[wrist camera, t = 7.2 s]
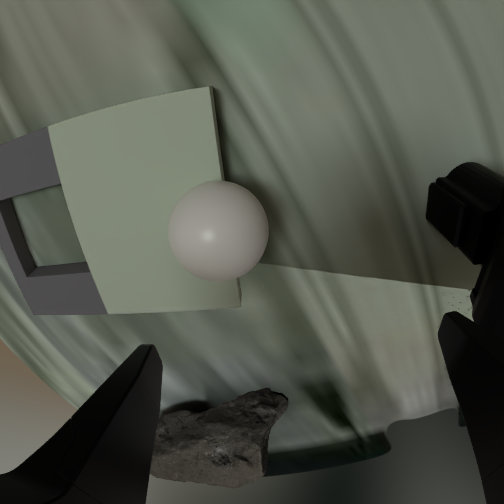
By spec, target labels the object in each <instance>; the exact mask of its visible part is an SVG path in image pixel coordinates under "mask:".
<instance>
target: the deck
mask: <svg viewBox="0 0 504 504" xmlns="http://www.w3.org/2000/svg"><path fill="white" fill-rule="evenodd" d="M209 181H225V178H224V171H223V164H222V157H221V149H220V142H219V134H218V127H217V119H216V111H215V104H214V96H213V88H212V86H210V87H203V88H196V89H190V90H184V91H179V92H173V93H168V94H163V95H158V96H153V97H149V98H144V99H140V100H136V101H131V102H127V103H123V104H119V105H115V106H112V107H108V108H104V109H101V110H97V111H94V112H90V113H87V114H84V115H81V116H77V117H74V118H71V119H68V120H65V121H62V122H59V123H56V124H53V125H50V126H48V127H45V128H42V129H40V130H37V131H34V132H32V133H29V134H27V135H24V136H22V137H19V138H17V139H14V140H12V141H9V142H7V143H5V144H3V145H0V245H1V248H2V250H3V252H4V255H5V257H6V259H7V262H8V264H9V266H10V268H11V271H12V273H13V275H14V277H15V279H16V281H17V283H18V285H19V288H20V290H21V292H22V294H23V296H24V298H25V299H26V301H27V303H28V305H29V307H30V309H31V311H32V313H33V315H85V314H127V313H153V312H174V311H192V310H208V309H222V308H236V307H241V288H240V282H239V277H238V278H236V279H233V280H229V281H222V282H215V281H207V280H204V279H200V278H198V277H196V276H194V275H192V274H191V273H189V272H188V271H187V270H185V269H184V268H183V267H182V266H181V265H180V264H179V262H178V261H177V260H176V258H175V256H174V255H173V252H172V250H171V247H170V244H169V240H168V223H169V218H170V215H171V213H172V210H173V208H174V206H175V205H176V203H177V202H178V200H179V199H180V198H181V197H182V196H183V195H184V194H185V193H186V192H187V191H188V190H190V189H191V188H193V187H195V186H197V185H199V184H202V183H205V182H209ZM58 184H61V185H62V188H63V192H64V195H65V199H66V202H67V205H68V209H69V212H70V215H71V218H72V221H73V224H74V227H75V230H76V233H77V236H78V239H79V242H80V245H81V247H82V250H83V253H84V256H85V258H86V261H87V262H82V263H72V264H62V265H52V266H43V267H35V264H34V262H33V260H32V257H31V255H30V252H29V250H28V247H27V245H26V242H25V240H24V237H23V235H22V232H21V229H20V227H19V224H18V221H17V218H16V215H15V212H14V209H13V206H12V203H11V200H10V197H13V196H17V195H20V194H24V193H27V192H31V191H35V190H38V189H42V188H46V187H50V186H54V185H58Z"/></svg>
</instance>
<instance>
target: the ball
mask: <svg viewBox="0 0 504 504" xmlns="http://www.w3.org/2000/svg"><path fill="white" fill-rule="evenodd" d="M268 236H269V225H268V220H267V216H266V213H265V211H264V209H263V207H262V205H261V203H260V202H259V201H258V199H257V198H256V197H255V196H254V195H253V194H252V193H251V192H250V191H249V190H247V189H246V188H244V187H242V186H240V185H238V184H235V183H232V182H228V181H209V182H205V183H202V184H199V185H197V186H195V187H193V188H191V189H190V190H188V191H187V192H186V193H185V194H184V195H183V196H182V197H181V198H180V199H179V200H178V202H177V203H176V205H175V206H174V208H173V210H172V213H171V215H170V218H169V223H168V240H169V244H170V247H171V250H172V252H173V255H174V256H175V258H176V260H177V261H178V262H179V264H180V265H181V266H182V267H183V268H184V269H185V270H187V271H188V272H189V273H191V274H192V275H194V276H196V277H198V278H200V279H204V280H207V281H215V282H222V281H229V280H233V279H236V278H238V277H240V276H242V275H244V274H245V273H247V272H248V271H250V270H251V269H252V268H253V267H254V266H255V265H256V264H257V263H258V261H259V260H260V259H261V257H262V255H263V253H264V251H265V249H266V246H267V242H268Z"/></svg>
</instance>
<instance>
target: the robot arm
mask: <svg viewBox="0 0 504 504" xmlns="http://www.w3.org/2000/svg"><path fill="white" fill-rule="evenodd" d="M426 219H427V220H428V221H429V222H430V223H431V224H432V225H433V226H434V227H435V228H436V229H437V230H438V231H439V232H440V233H441V234H442V235H443V236H444V237H445V238H446V239H447V240H448V241H449V242H450V243H451V244H452V245H453V246H454V247H458V248H459V249H460V250H461V251H462V253H463V254H464V255H465V256H466V257H467V258H468V259H469V260H470V261H471V262H472V263H473V264H474V265H477V264H480V265H481V266H482V268H481V271H480V274H479V277H478V279H477V282H476V285H475V288H473V289H472V291H471V294H470V299H471V302H472V306H473V310H472V317H473V320H474V322H473V321H471V320H470V319H468V318H467V317H465V316H463V315H462V314H460V313H459V312H457V311H452V312H448V313H445V314H444V316H443V319H442V322H441V325H440V328H439V331H438V339H439V343H440V346H441V349H442V353H443V356H444V360H445V364H446V367H447V371H448V374H449V378H450V380H451V383H452V386H453V389H454V391H455V394H456V397H457V400H458V403H459V406H460V408H461V411H462V414H463V417H464V420H465V423H466V427H467V429H468V433H469V436H470V439H471V443H472V446H473V450H474V453H475V457H476V460H477V464H478V468H479V472H480V476H481V480H482V485H483V490H484V494H485V498H486V503H487V504H504V177H502V176H501V175H499V174H497V173H495V172H494V171H492V170H490V169H488V168H486V167H484V166H482V165H480V164H478V163H475V162H466V163H463V164H461V165H459V166H457V167H456V168H454V169H453V170H452V171H451V172H450V173H449V174H448V175H447V176H446V177H439V178H437V179H436V183H431V185H430V187H429V197H428V205H427V213H426ZM162 372H163V365H162V361H161V359H160V356H159V354H158V352H157V349H156V347H155V346H154V345H153V344H141V345H139V346H138V347H137V348H136V350H135V351H134V352H133V353H132V354H131V355H130V356H129V357H128V358H127V359H126V360H125V361H124V362H123V363H122V364H121V365H120V366H119V367H118V368H117V369H116V370H115V371H114V372H113V373H112V375H111V376H110V377H109V378H108V379H107V380H106V381H105V382H104V383H103V384H102V385H101V386H100V387H99V388H98V389H97V390H96V391H95V392H94V393H93V394H92V396H91V397H90V398H89V399H88V400H87V401H86V402H85V403H84V404H83V405H82V406H81V407H80V408H79V409H78V410H77V412H75V413H74V415H73V416H72V417H71V419H69V420H68V421H67V422H66V423H65V424H64V425H63V426H62V427H61V428H60V429H59V430H58V431H57V432H56V433H55V434H54V435H53V436H52V437H51V438H50V439H49V440H48V441H47V442H46V443H45V444H44V445H42V446H41V447H40V448H39V449H38V450H37V451H36V452H34V454H32V455H31V456H30V457H29V458H27V459H26V460H25V461H24V462H23V463H22V464H20V465H19V466H18V467H17V468H15V469H14V470H12V471H10V472H8V473H5V474H0V504H145V503H146V496H147V489H148V482H149V475H150V468H151V462H152V455H153V449H154V443H155V437H156V431H157V425H158V419H159V413H160V401H161V385H162Z"/></svg>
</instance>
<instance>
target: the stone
mask: <svg viewBox="0 0 504 504" xmlns="http://www.w3.org/2000/svg"><path fill="white" fill-rule="evenodd" d="M287 406H288V398H287V397H286V396H285V395H284V394H283V393H278V392H274V391H271V389H270V388H263V389H260V390H256V391H251V392H248V393H246V394H243V395H241V396H238V397H237V398H236V399H234V400H232V401H230V402H226V403H223V404H222V405H221V406H219V407H216V408H211V409H209V410H207V411H204V412H201V413H196V412H192V411H189V410H179V411H175V412H173V413H169V414H165V415H163V416H162V417H161V418H159V419H158V425H157V431H156V437H155V443H154V449H153V455H152V462H151V468H150V474H151V475H153V476H155V477H157V478H162V479H166V480H173V481H182V482H186V481H192V482H195V483H206V484H208V485H213V486H224V487H229V488H238V487H241V486H243V485H245V484H248V483H252V482H255V481H257V480H259V479H260V478H261V477H262V476H263V475H264V474H266V471H267V456H268V451H267V450H268V439H269V433H270V430H271V427H272V426H273V425H274V423H275V422H276V421H277V420H278V419H279V418H280V417H281V415H282V414H283V413H284V412H285V411H286V409H287Z"/></svg>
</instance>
